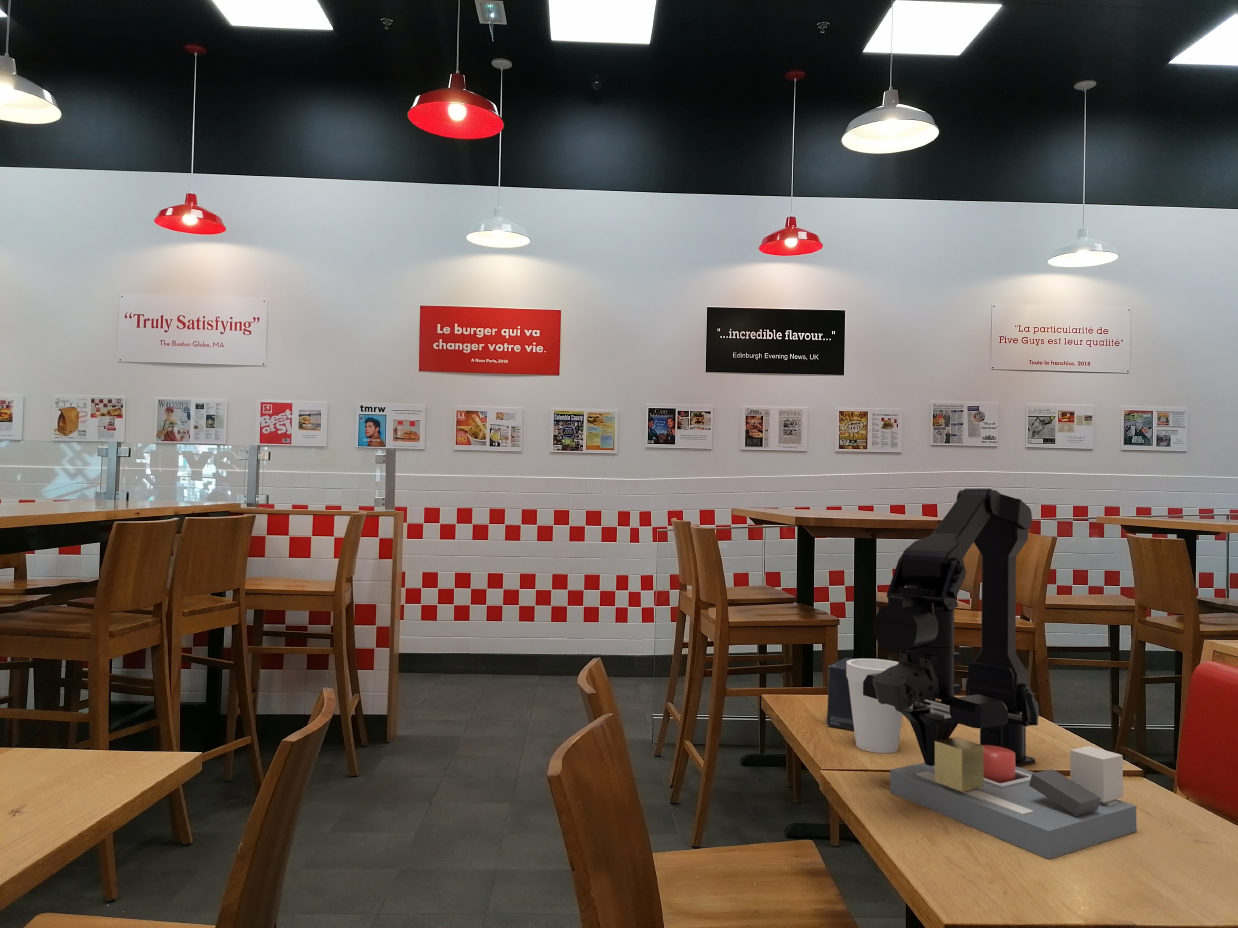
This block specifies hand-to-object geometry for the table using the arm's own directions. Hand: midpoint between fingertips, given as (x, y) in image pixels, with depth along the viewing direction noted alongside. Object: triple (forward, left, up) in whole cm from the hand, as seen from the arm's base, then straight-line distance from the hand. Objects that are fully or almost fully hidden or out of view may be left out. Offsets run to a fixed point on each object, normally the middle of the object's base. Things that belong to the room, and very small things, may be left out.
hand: (930, 764), depth 102 cm
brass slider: (0, +4, -1) cm, 4 cm away
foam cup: (-11, -20, -5) cm, 23 cm away
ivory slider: (-13, +14, -1) cm, 19 cm away
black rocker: (-6, +14, 0) cm, 15 cm away
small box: (-18, -32, -5) cm, 37 cm away
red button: (-9, +3, -4) cm, 10 cm away
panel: (-6, +7, -4) cm, 10 cm away
